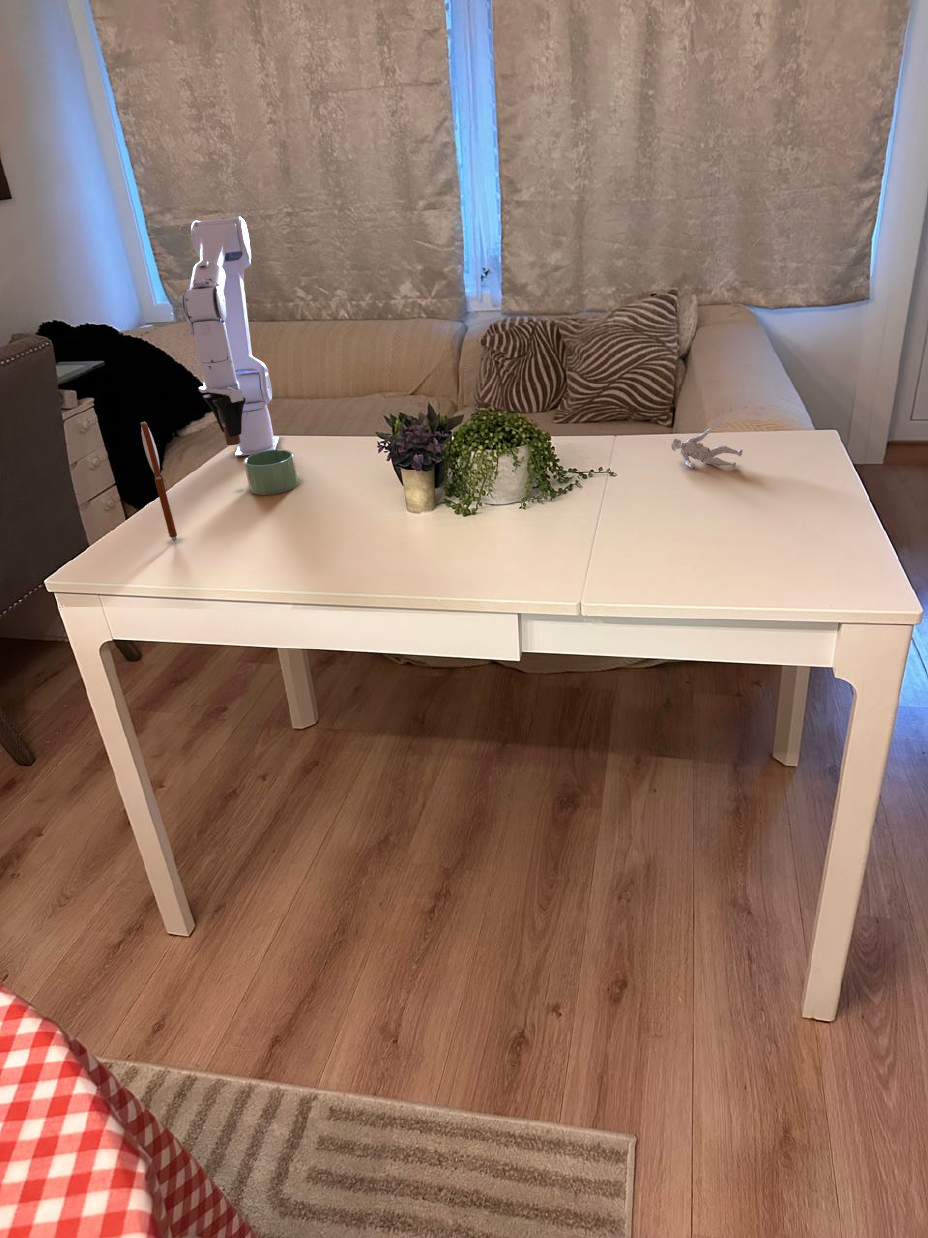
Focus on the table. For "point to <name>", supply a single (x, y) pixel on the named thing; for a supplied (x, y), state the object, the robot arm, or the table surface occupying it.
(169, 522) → the magnifying glass
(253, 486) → the cup
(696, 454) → the soldier figure
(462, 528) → the table surface
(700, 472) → the table surface
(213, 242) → the robot arm
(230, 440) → the brush
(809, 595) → the table surface
